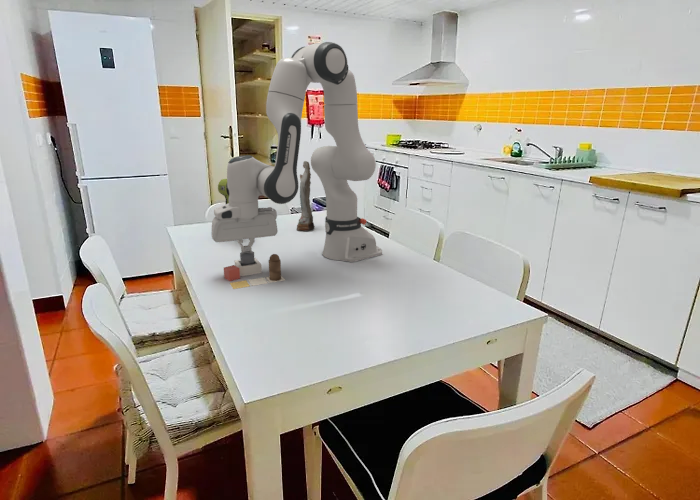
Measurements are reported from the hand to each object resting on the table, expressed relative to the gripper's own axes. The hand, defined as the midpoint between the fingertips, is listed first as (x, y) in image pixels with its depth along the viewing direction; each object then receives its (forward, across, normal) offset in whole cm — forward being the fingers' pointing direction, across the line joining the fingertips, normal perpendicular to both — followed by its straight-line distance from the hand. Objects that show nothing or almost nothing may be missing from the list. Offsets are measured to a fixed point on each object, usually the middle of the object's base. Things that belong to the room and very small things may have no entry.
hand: (246, 251), depth 135 cm
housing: (+7, 0, 0) cm, 7 cm away
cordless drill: (+8, -5, -40) cm, 41 cm away
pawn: (+7, -6, +10) cm, 13 cm away
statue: (+8, -36, -42) cm, 56 cm away
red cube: (+7, +6, +4) cm, 10 cm away
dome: (+4, 0, 0) cm, 5 cm away
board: (+8, -1, +5) cm, 9 cm away
